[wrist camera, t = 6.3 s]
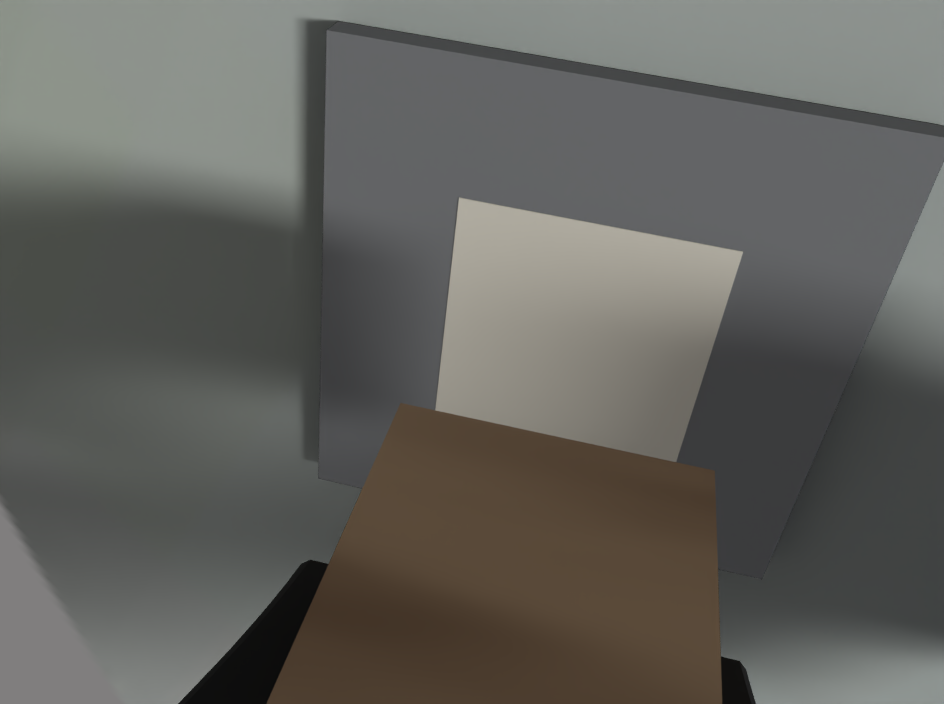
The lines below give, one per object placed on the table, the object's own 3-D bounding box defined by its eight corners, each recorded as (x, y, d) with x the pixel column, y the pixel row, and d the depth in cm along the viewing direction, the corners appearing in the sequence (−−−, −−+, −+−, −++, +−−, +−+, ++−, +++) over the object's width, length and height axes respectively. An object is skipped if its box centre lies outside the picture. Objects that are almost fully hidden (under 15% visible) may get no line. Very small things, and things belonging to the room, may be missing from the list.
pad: (944, 125, 14) (953, 139, 14) (760, 558, 20) (762, 579, 20) (338, 21, 15) (326, 30, 15) (327, 461, 21) (318, 479, 21)
